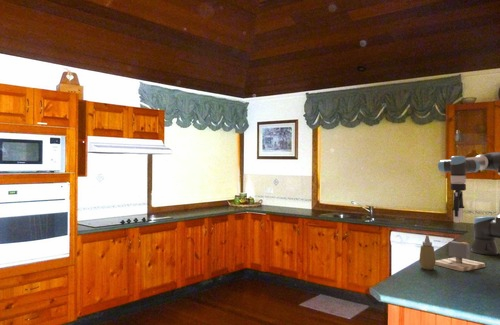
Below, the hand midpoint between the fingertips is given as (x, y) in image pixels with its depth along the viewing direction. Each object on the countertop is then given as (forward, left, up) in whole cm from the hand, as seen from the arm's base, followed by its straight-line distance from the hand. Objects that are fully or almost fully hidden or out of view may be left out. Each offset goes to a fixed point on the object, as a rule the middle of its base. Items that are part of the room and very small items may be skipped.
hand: (458, 221), depth 222 cm
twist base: (+1, +1, -25) cm, 25 cm away
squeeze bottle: (+22, -4, -25) cm, 33 cm away
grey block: (+1, +1, -20) cm, 20 cm away
